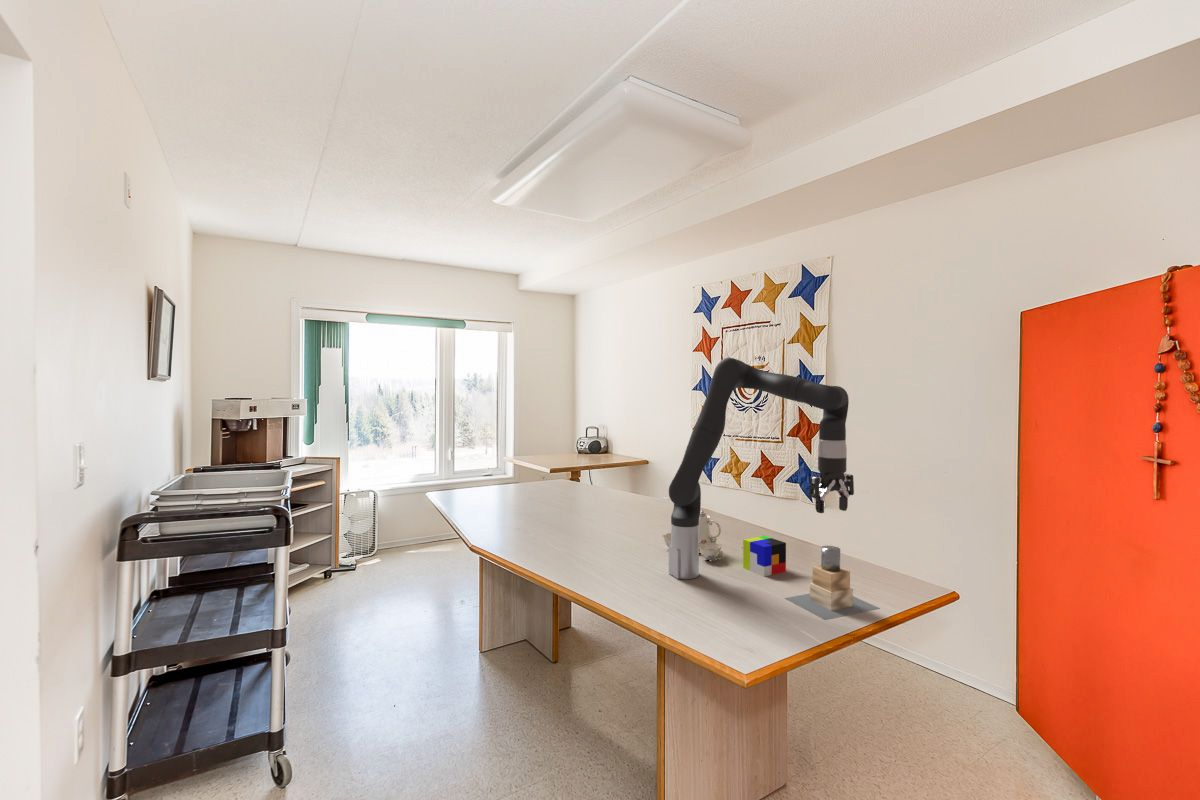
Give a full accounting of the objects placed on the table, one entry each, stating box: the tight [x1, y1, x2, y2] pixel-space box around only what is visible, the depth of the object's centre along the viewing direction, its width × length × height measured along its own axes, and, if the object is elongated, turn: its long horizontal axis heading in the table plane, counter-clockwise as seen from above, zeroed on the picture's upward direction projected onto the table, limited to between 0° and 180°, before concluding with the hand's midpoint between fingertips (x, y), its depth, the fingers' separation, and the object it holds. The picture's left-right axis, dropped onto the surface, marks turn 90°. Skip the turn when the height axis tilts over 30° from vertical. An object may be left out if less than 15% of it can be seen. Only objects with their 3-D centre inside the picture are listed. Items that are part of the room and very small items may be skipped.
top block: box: [812, 565, 851, 592], centre depth 155 cm, size 7×7×5 cm
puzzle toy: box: [742, 535, 787, 577], centre depth 185 cm, size 10×10×10 cm
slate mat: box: [784, 593, 881, 621], centre depth 155 cm, size 20×16×1 cm
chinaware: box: [662, 509, 725, 562], centre depth 204 cm, size 28×17×17 cm, turn 46°
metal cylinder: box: [820, 545, 841, 572], centre depth 154 cm, size 5×5×6 cm
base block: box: [809, 582, 854, 611], centre depth 155 cm, size 8×8×5 cm
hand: (831, 511), depth 154 cm, fingers open, 8 cm apart
